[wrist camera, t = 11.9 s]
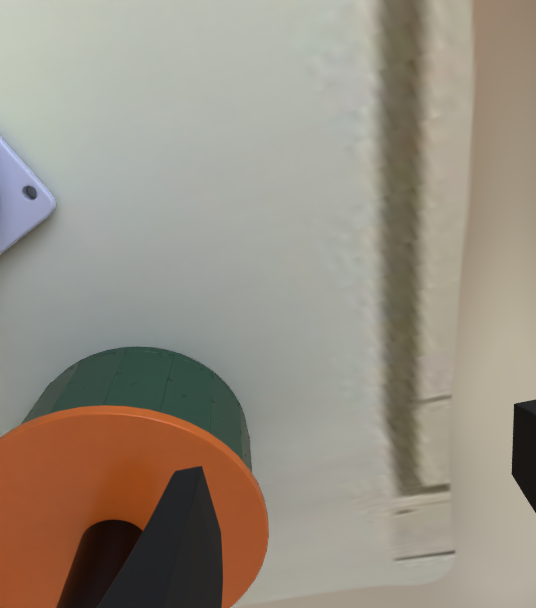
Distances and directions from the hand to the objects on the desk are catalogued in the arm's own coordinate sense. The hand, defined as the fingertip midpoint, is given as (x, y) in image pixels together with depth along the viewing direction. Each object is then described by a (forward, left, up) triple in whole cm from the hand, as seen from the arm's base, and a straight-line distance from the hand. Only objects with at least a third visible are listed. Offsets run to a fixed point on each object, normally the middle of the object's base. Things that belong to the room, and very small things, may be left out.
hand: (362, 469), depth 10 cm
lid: (+1, -10, -5) cm, 11 cm away
